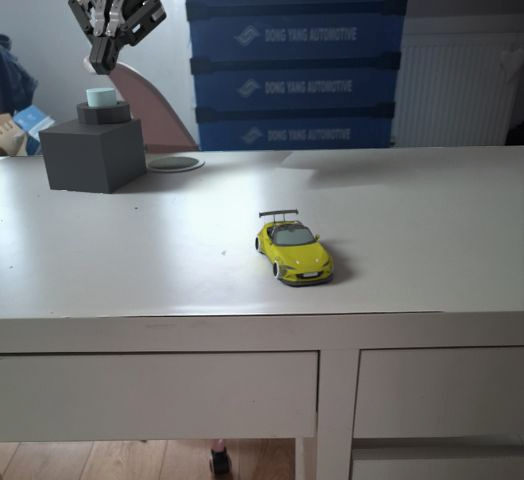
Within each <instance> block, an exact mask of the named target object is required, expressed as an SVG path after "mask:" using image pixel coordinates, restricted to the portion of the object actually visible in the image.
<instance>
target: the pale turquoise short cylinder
mask: <svg viewBox="0 0 524 480" xmlns="http://www.w3.org/2000/svg"><path fill="white" fill-rule="evenodd" d="M86 98H87V102H88V104H89V106H91V107H105V106H114V105H117V100H118V99H117V93H116V88H113V87H93V88H88V89H86Z"/></svg>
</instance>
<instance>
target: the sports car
mask: <svg viewBox="0 0 524 480" xmlns="http://www.w3.org/2000/svg"><path fill="white" fill-rule="evenodd" d="M287 214H295V215H296V216H297V215H299V210H298V209H297V208H295V209H282V210H281V209H280V210H271V211H264V212H260V211H259V212H258V218H259V219H261V218H262V217H264V219H266V218H265V217H266V216H273V221H270V222H266V223H264V225H263V226H262V228H261V229H260V231H259V232H258V233H257V234H256V237H255V241H254V246H255V250H256V252H257V253H262V254H264V255H265V256H266V257H267V258H268V260H269V262H270V264H271V265H272V272H273V273H272V274H273V277H274V278H275V279H279V281H280V282H281V283H282V284H285V285H288V286H294V287H295V286H306V285H316V284H323V283H328V282H330V281H331V280H332V279H333V277H334V274H333V271H334V267H335V265H334V259H333V257H332V255H331V254H330V252H329V251H327V250H326V249H325V248H324V247H323V245H321V243H320V242H319V239H320V238H321V235H320V234H315V235H314V234H313V233H312V231H311V230H310V228H309V227H308V226H305V225H304V224H303V223H302V222H301V221H300V220H285V215H287ZM276 215H283V220H277V221H276V219H275V216H276Z"/></svg>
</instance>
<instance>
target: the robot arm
mask: <svg viewBox="0 0 524 480" xmlns="http://www.w3.org/2000/svg"><path fill="white" fill-rule="evenodd" d="M67 5H68V7H69V8H70V10H71V12H72V14H73V16H74V18H75V20H76V21H77V23H78V25H79V27H80V29H81V31H82V32H83V34H84V35H85V37H86V38H87V40H88V42H89V43H90V45H91V49H90V53H89V55H88V62H89V64H90V66H91V67H92V69H93V70H94V71H95V73H96V74H97V75H98V76H110V75H111V73H112V71H114V70H115V68H116V66H117V62H118V59H119V55H120V51H122V50H123V49H124V48H125V46H127V45H129V47H136V46H137V45H138V44H139V43H141V41H143V40H144V39H145V38H146V37H147V36H148V35H150V33H152V32H153V31H154V30H155V29H156V28H157V27H158V26H159V25H161V23H163V22H164V21H165V20H166V19H167V16H168V15H167V12H166V10H165V7H164V5H163V3H162V1H161V0H67ZM92 9H93V10H94V14H93V12H92ZM92 14H93V15H94V20H95V21H94V26H93V25H92V23H91V21H92V20H93V17H92ZM138 26H139V27H138ZM137 27H138V29H137V30H135V29H136V28H137ZM134 30H135V31H134Z"/></svg>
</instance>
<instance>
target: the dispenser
mask: <svg viewBox="0 0 524 480" xmlns="http://www.w3.org/2000/svg"><path fill="white" fill-rule="evenodd" d="M75 108H76V114H77V118H74V119H72V120H69V121H66V122H63V123H60V124H57V125H53V126H50V127H46V128H43V129H41V130H38V131H37V134H38V139H39V143H40V148H41V153H42V157H43V158H42V159H43V162H44V167H45V171H46V176H47V180H48V185H49V189H50V191H61V190H67V191H66V192H74V191H75V193H86V194H87V193H90V194H100V193H103V194H102V195H111V194H113V193H114V192H116V191H118V190H120V189H122V188H124V187H125V186H126V185H128V184H130V183H133V181H135V180H137V179H139V178H141V177H142V176H144V175H145V174H147V173H148V170H147V162H146V153H145V145H144V144H145V143H144V137H143V136H144V135H143V129H142V128H143V127H142V121H141V118H138V117H137V118H136V117H135V118H134V117H132V114H131V106H130V102H129V101H125V100H118V99H117V105H114V106H105V107H91V106H89V104H88V101H85V102H80V103H77V104H76V106H75ZM112 192H113V193H112Z"/></svg>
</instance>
